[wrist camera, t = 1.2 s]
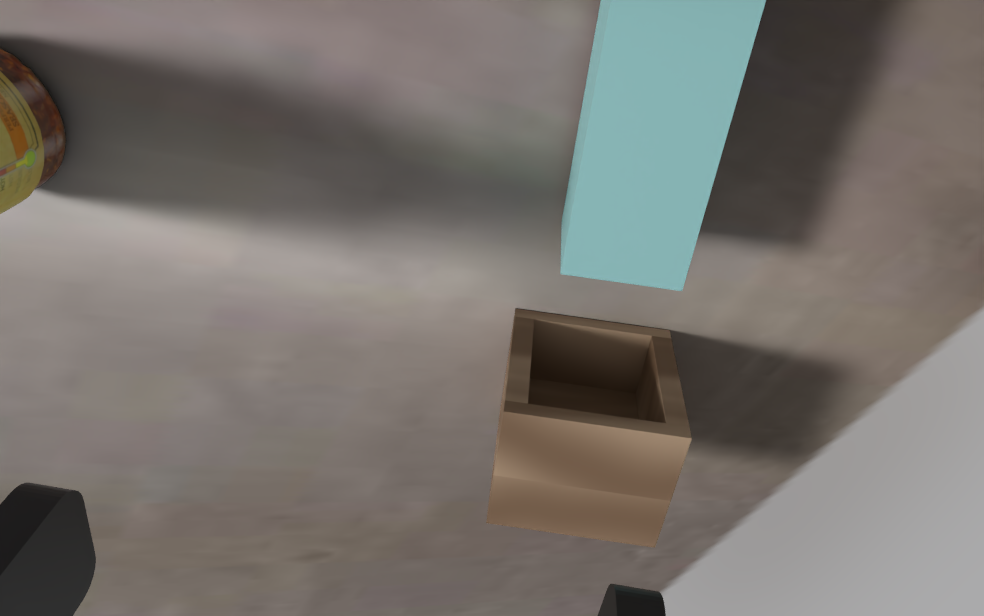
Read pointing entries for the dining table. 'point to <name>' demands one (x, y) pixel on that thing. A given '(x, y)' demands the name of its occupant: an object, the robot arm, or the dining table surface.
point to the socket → (588, 429)
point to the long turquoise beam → (652, 135)
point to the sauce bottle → (26, 132)
